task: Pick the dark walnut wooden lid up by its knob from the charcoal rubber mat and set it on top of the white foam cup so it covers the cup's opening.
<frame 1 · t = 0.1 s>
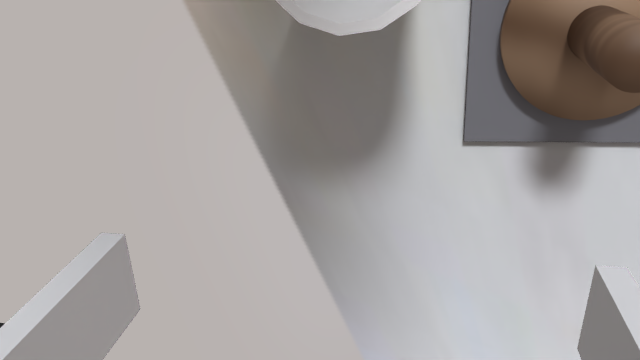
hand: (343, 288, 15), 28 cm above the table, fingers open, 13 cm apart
lid: (613, 43, 32), on the mat
mat: (590, 30, 37), on the table
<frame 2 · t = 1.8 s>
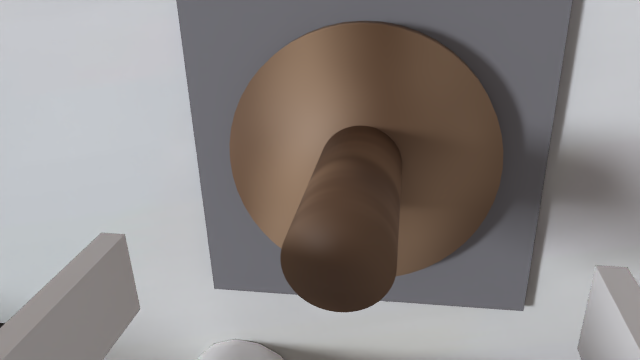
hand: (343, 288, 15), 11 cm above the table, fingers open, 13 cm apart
lid: (352, 199, 21), on the mat
mat: (363, 152, 25), on the table
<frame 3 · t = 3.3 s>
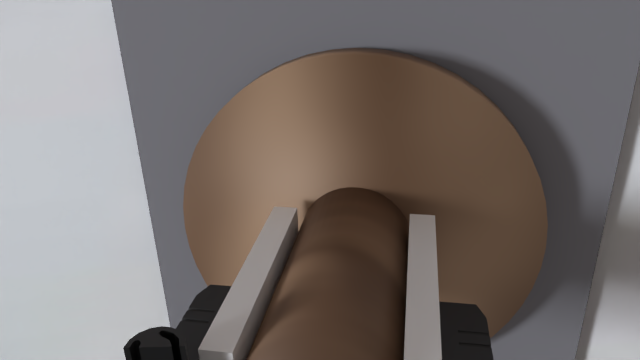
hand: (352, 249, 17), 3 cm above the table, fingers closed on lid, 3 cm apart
lid: (341, 301, 15), point 5 cm above the table, touching gripper
mat: (361, 211, 19), on the table
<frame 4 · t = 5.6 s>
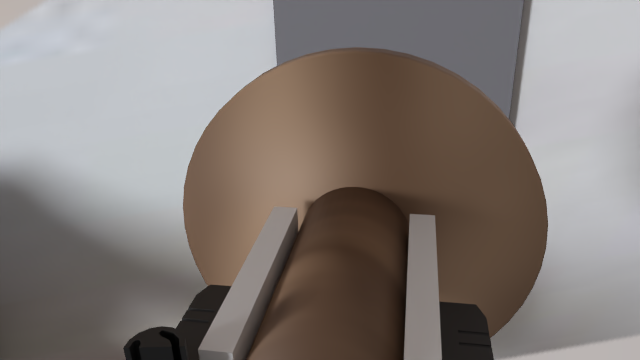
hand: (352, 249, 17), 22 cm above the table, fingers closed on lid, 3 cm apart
lid: (341, 300, 15), point 25 cm above the table, touching gripper
mat: (391, 74, 37), on the table
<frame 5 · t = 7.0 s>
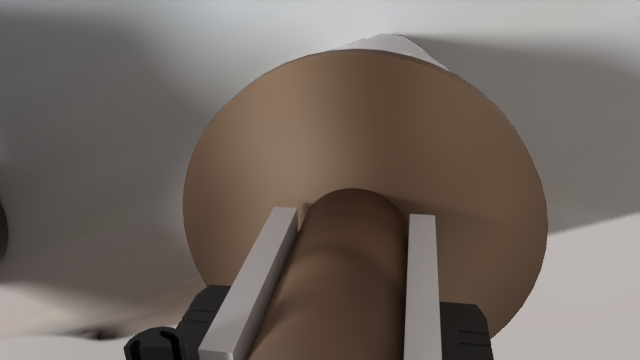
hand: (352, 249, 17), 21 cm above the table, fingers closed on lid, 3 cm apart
lid: (341, 302, 15), point 24 cm above the table, touching gripper
foam cup: (386, 80, 36), on the table
when the fingers open (17 cm above the table, at t = 7.9 s): lid drops 2 cm, resting on foam cup.
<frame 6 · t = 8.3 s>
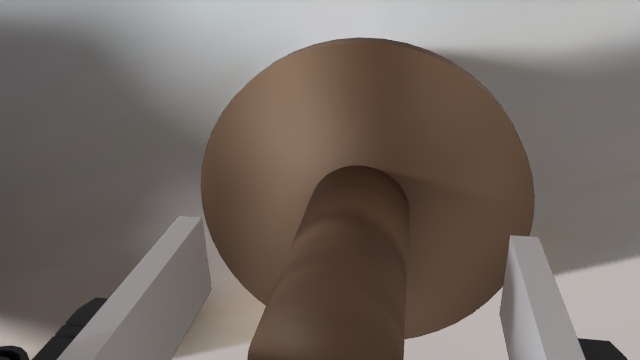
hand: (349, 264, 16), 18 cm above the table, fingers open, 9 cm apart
lid: (347, 264, 16), point 18 cm above the table, touching foam cup
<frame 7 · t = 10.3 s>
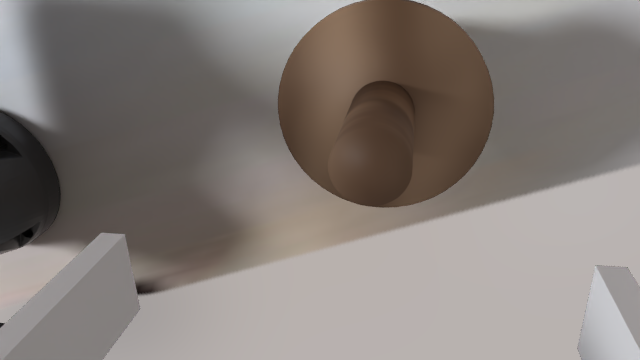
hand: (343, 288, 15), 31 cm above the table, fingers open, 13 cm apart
lid: (377, 133, 27), point 18 cm above the table, touching foam cup
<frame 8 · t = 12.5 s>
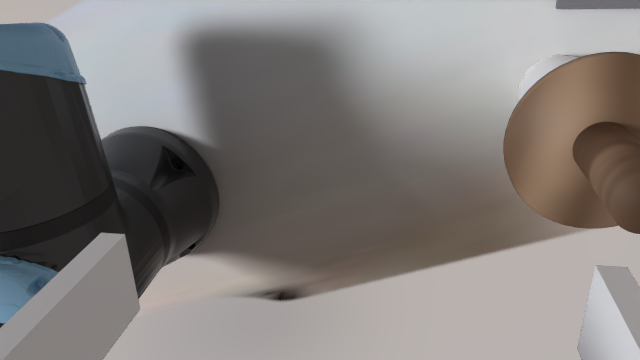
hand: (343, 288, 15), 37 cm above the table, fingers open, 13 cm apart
lid: (620, 169, 32), point 18 cm above the table, touching foam cup
foam cup: (554, 89, 48), on the table, touching lid
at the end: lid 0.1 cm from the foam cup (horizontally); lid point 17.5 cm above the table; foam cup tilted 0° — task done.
